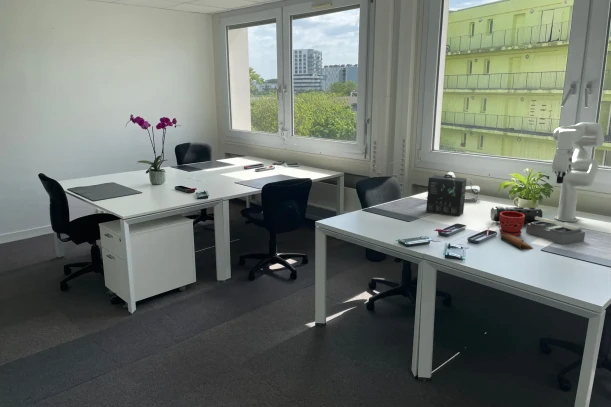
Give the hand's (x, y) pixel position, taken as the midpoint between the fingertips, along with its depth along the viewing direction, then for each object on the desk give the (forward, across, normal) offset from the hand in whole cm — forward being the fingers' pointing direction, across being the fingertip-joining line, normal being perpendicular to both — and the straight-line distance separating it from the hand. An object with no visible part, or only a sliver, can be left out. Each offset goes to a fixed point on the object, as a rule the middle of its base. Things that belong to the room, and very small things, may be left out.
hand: (559, 183), depth 264 cm
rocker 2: (+19, -20, +15) cm, 31 cm away
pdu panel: (+27, -11, +15) cm, 33 cm away
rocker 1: (+19, -6, +15) cm, 25 cm away
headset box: (+27, +53, +38) cm, 71 cm away
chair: (+27, +81, +1) cm, 86 cm away
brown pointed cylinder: (+28, -15, +44) cm, 54 cm away
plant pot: (+27, 0, +34) cm, 44 cm away
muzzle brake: (+28, +16, +14) cm, 35 cm away
